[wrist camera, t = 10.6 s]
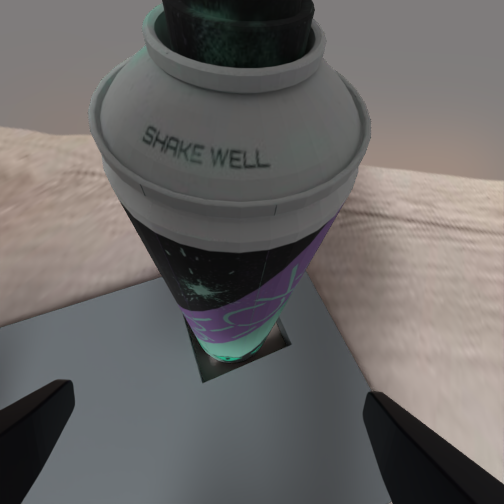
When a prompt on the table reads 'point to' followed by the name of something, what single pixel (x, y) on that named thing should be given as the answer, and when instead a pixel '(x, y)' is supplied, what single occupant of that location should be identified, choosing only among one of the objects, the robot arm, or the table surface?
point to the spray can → (230, 156)
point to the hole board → (194, 408)
